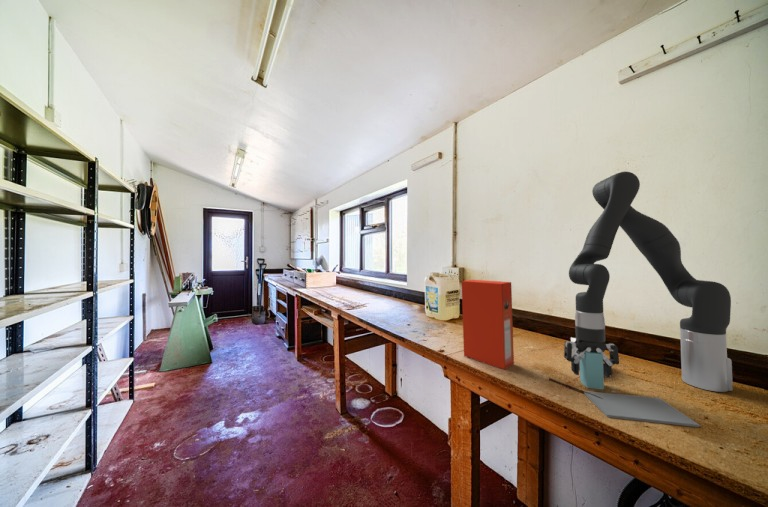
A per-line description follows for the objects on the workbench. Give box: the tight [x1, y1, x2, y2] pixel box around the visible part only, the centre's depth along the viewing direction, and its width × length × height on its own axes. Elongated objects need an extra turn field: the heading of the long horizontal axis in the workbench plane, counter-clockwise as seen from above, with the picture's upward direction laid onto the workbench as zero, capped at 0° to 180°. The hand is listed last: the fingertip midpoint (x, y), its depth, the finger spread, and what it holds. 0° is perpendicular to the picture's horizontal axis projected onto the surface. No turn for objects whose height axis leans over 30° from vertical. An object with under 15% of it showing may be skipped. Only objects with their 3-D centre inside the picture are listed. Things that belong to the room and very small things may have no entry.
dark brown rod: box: [548, 377, 603, 399], centre depth 80 cm, size 15×1×1 cm, turn 29°
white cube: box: [570, 337, 577, 356], centre depth 108 cm, size 6×6×6 cm
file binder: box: [461, 279, 515, 370], centre depth 104 cm, size 8×17×32 cm, turn 38°
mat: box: [583, 390, 701, 428], centre depth 70 cm, size 19×12×1 cm, turn 76°
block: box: [579, 352, 605, 390], centre depth 83 cm, size 4×4×11 cm
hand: (591, 375), depth 83 cm, fingers open, 8 cm apart
